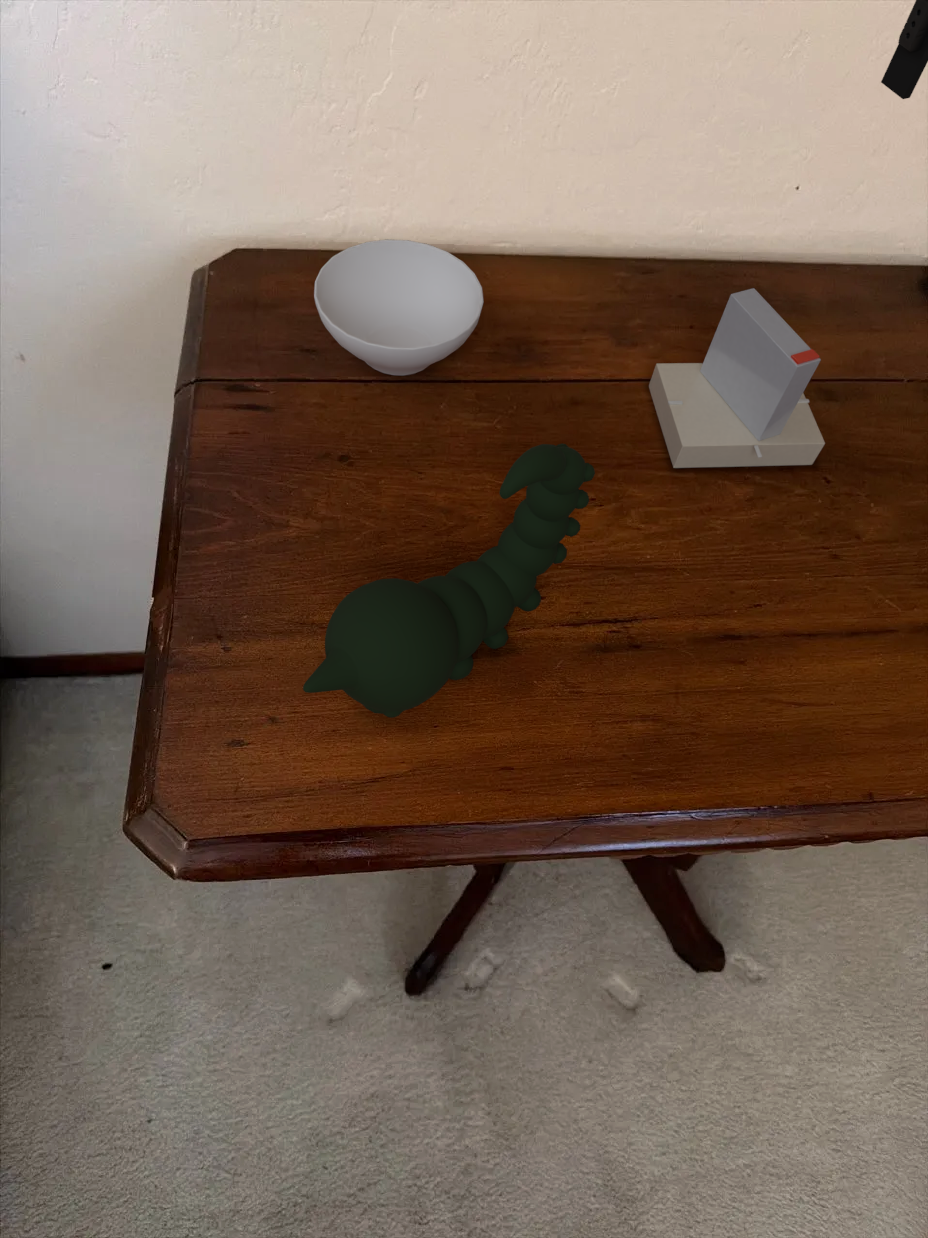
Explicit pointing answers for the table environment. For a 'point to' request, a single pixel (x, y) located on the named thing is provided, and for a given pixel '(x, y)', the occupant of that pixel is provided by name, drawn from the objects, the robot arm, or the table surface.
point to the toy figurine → (453, 597)
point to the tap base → (723, 425)
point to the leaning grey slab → (758, 364)
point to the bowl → (398, 303)
